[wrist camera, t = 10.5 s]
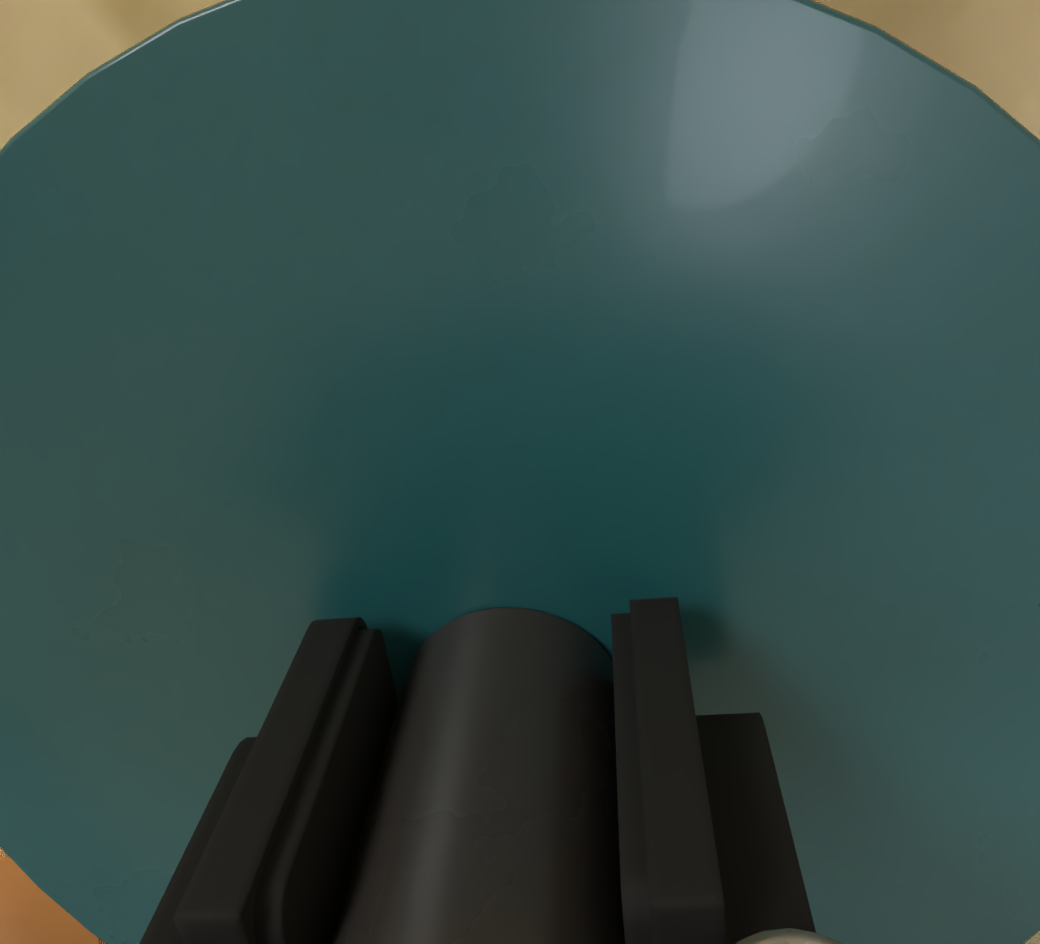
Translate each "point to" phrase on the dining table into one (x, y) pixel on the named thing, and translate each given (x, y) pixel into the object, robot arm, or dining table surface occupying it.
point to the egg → (34, 913)
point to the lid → (525, 446)
